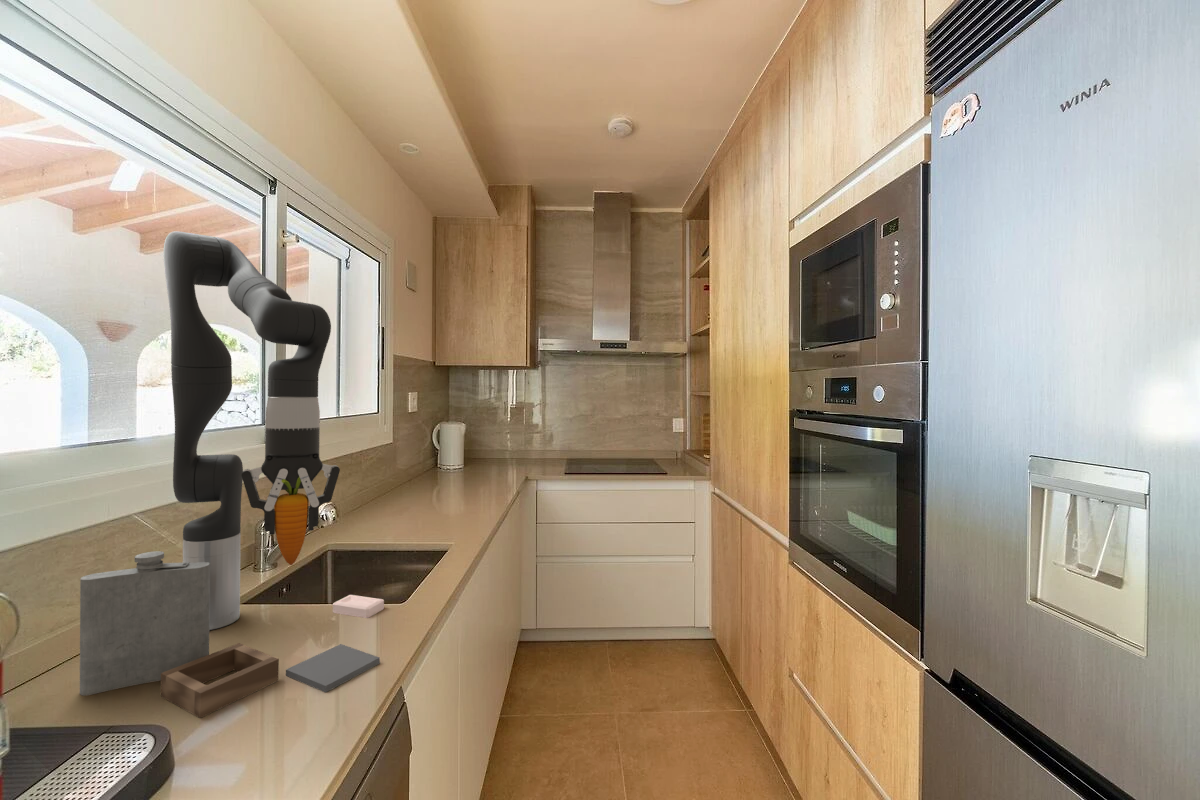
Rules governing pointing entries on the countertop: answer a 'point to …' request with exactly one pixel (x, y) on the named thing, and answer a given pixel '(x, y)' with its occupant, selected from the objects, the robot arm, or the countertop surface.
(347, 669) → the mat
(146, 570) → the hip flask
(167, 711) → the countertop surface
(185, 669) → the socket collar
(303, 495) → the carrot
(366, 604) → the soap bar
